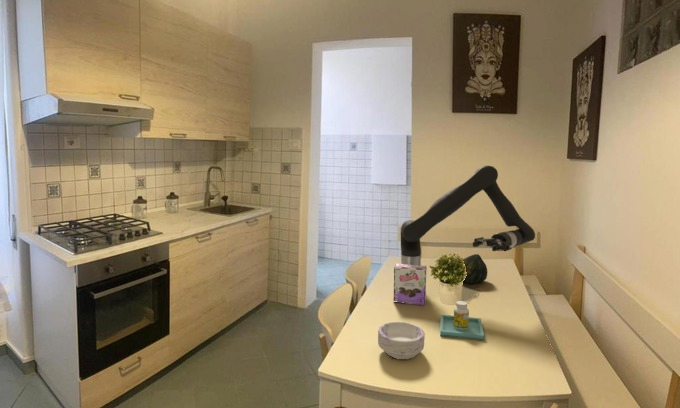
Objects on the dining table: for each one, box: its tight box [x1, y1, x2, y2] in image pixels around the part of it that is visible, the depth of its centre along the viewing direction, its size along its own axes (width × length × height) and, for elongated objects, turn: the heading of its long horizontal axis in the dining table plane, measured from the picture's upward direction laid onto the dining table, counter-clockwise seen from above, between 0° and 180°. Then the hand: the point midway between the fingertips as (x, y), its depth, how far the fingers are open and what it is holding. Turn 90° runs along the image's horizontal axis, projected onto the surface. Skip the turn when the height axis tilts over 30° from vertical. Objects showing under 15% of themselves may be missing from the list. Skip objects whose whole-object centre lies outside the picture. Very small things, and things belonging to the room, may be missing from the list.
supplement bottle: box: [453, 300, 470, 330], centre depth 152 cm, size 5×5×10 cm
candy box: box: [393, 263, 428, 306], centre depth 179 cm, size 14×6×16 cm, turn 74°
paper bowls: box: [377, 320, 426, 360], centre depth 135 cm, size 15×15×8 cm
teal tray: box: [439, 314, 485, 341], centre depth 153 cm, size 15×15×2 cm
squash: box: [462, 253, 488, 284], centre depth 205 cm, size 14×15×15 cm
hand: (483, 246), depth 164 cm, fingers open, 8 cm apart
